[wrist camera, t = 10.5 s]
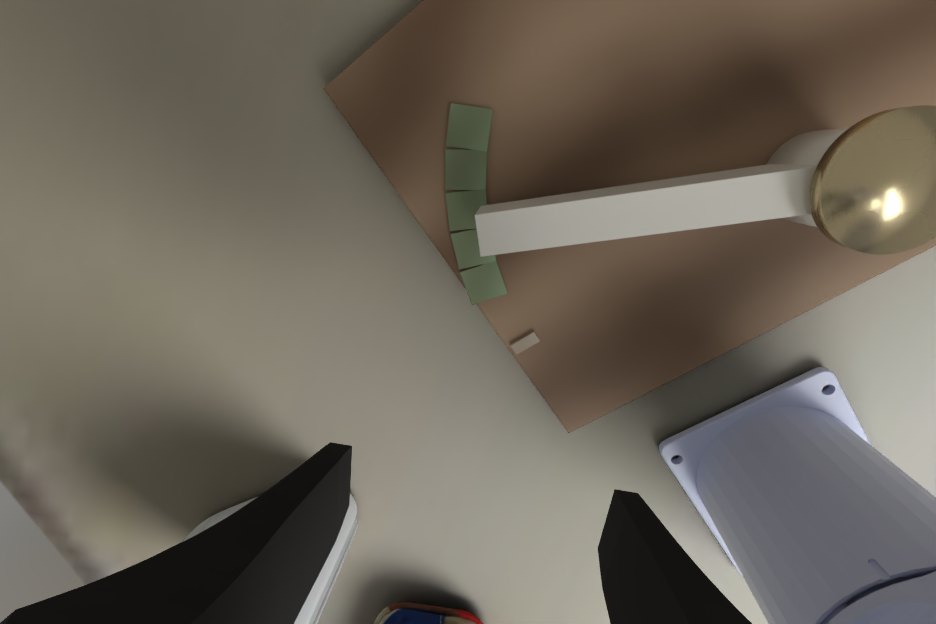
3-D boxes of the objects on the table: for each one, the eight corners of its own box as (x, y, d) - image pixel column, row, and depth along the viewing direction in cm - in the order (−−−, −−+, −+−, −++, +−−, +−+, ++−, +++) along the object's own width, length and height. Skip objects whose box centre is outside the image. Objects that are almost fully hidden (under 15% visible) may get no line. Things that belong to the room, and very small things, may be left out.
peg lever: (875, 109, 16) (998, 92, 12) (861, 224, 17) (968, 245, 13) (476, 171, 17) (466, 175, 14) (490, 270, 19) (484, 301, 15)
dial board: (1101, 146, 16) (1137, 146, 15) (564, 424, 22) (566, 437, 21) (924, -429, 12) (959, -478, 11) (328, 93, 18) (318, 90, 17)
